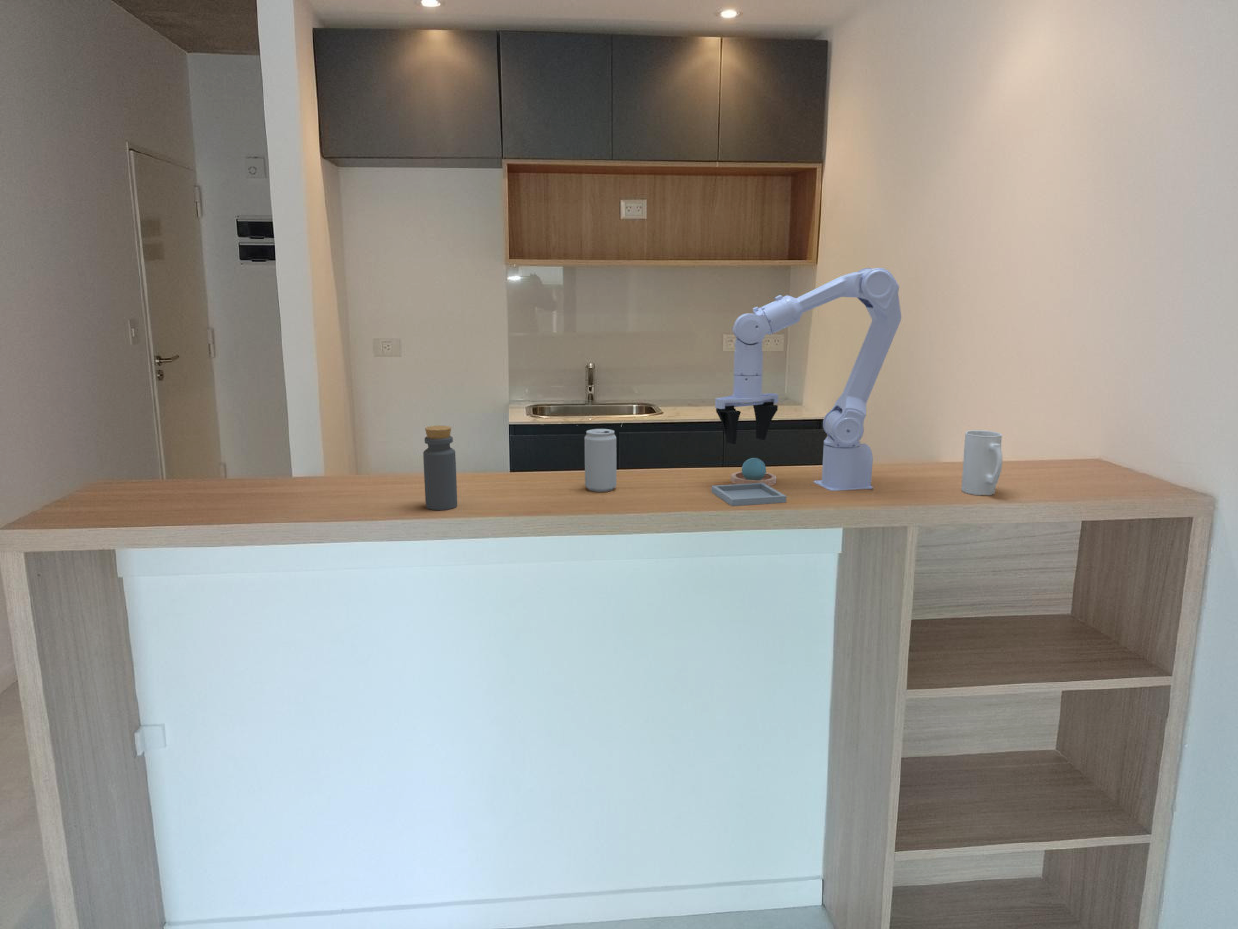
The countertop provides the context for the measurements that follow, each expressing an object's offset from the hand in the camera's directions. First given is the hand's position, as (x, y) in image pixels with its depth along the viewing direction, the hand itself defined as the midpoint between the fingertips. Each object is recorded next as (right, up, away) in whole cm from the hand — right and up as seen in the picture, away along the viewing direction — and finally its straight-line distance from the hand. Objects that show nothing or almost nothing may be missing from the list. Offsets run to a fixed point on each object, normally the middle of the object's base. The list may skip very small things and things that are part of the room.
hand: (746, 441), depth 176 cm
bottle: (-59, -13, -14) cm, 62 cm away
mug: (+47, -11, -4) cm, 48 cm away
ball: (+2, -8, +4) cm, 10 cm away
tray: (-1, -11, -8) cm, 14 cm away
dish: (+2, -9, +4) cm, 10 cm away
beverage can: (-30, -10, -1) cm, 31 cm away
